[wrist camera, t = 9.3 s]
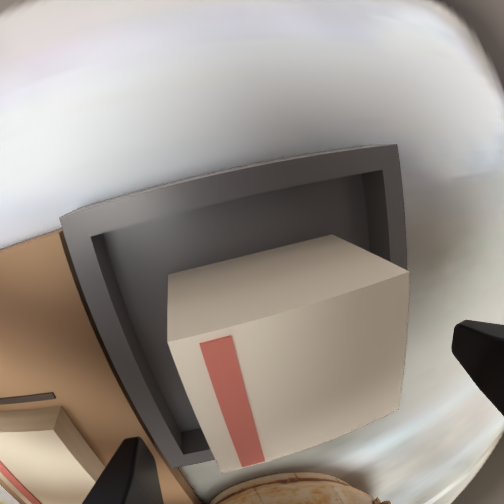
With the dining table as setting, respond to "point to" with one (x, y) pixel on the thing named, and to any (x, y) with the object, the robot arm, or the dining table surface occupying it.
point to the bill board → (60, 384)
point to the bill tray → (217, 256)
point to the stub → (288, 346)
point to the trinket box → (295, 491)
